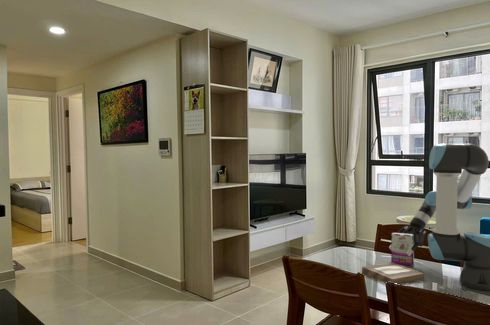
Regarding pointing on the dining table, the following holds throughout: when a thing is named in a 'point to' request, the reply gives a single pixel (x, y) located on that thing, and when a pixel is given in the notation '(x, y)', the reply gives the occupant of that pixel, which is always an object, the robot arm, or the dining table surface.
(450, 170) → the robot arm
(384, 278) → the walnut plinth
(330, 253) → the dining table surface
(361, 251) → the dining table surface
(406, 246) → the candy bar box
